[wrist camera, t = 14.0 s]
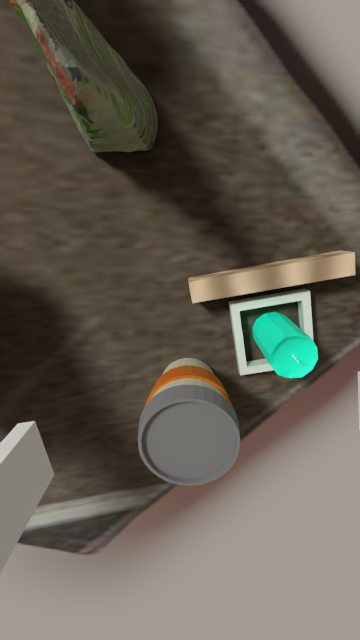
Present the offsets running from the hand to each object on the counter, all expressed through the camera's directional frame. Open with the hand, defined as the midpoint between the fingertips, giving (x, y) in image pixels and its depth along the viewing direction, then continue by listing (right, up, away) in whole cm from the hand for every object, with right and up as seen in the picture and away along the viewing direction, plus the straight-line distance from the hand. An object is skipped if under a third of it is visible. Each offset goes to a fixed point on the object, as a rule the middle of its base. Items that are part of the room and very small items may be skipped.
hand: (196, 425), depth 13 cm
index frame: (+13, +3, +35) cm, 38 cm away
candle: (+14, +3, +35) cm, 38 cm away
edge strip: (+12, +11, +33) cm, 36 cm away
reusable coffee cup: (+1, -6, +38) cm, 39 cm away
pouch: (-9, +30, +28) cm, 42 cm away
